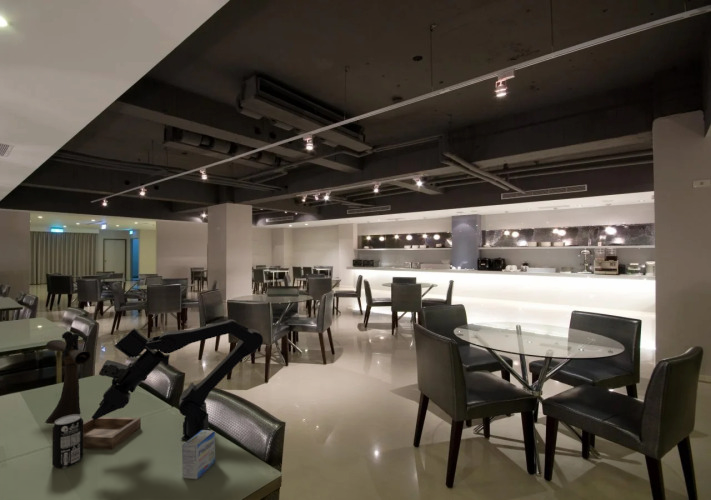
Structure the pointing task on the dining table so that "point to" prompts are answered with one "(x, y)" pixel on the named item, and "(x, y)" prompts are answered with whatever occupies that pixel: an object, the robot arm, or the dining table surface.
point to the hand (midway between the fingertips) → (97, 411)
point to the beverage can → (67, 441)
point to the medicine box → (198, 454)
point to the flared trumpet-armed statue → (68, 375)
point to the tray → (108, 431)
